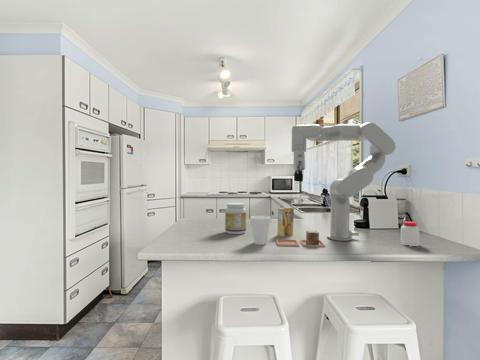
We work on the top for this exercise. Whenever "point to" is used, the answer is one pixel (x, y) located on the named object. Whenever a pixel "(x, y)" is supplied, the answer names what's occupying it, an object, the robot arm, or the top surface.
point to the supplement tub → (235, 218)
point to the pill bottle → (410, 234)
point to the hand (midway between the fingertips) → (298, 181)
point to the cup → (260, 229)
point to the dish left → (312, 245)
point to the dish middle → (287, 242)
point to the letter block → (312, 238)
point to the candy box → (285, 221)
